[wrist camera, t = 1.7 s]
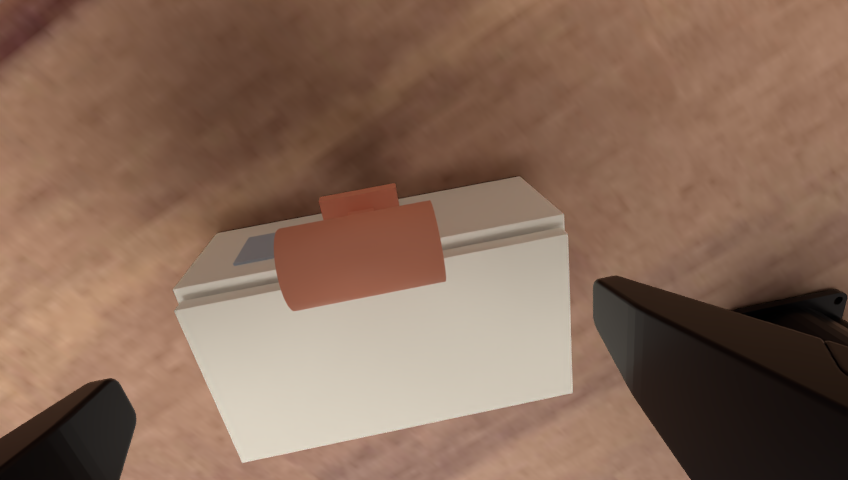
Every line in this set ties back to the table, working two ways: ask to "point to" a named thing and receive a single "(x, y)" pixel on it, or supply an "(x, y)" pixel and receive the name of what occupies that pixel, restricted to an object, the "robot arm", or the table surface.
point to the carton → (454, 209)
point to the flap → (382, 328)
